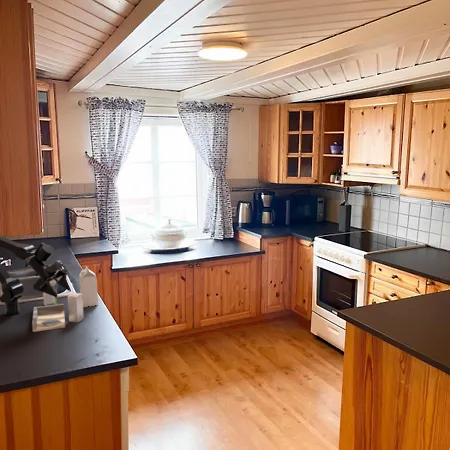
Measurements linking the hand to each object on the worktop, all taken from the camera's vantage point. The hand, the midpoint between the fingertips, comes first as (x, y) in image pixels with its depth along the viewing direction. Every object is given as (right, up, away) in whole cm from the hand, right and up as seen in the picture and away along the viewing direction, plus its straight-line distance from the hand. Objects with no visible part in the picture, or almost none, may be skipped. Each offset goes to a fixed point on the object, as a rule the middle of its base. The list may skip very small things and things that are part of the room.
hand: (63, 293), depth 205 cm
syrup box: (-13, -9, +20) cm, 25 cm away
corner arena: (-6, -13, -1) cm, 14 cm away
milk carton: (+6, -9, +20) cm, 23 cm away
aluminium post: (+6, -12, +1) cm, 14 cm away
